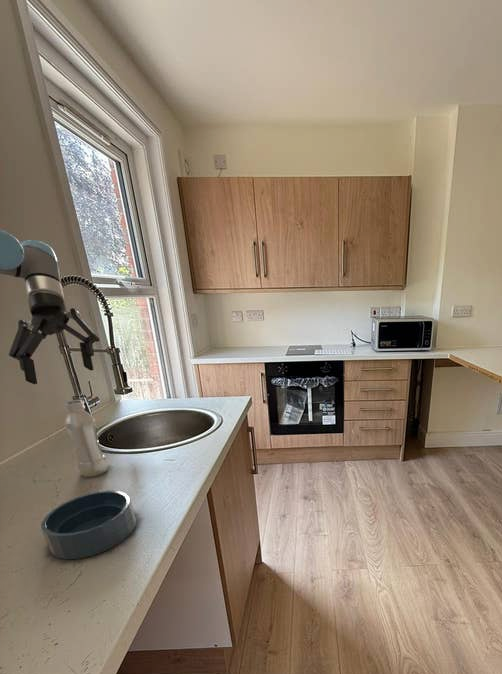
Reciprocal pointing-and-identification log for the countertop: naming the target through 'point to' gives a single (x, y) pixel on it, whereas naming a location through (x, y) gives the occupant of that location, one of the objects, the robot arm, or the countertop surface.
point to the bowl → (89, 524)
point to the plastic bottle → (85, 439)
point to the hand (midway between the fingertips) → (60, 375)
